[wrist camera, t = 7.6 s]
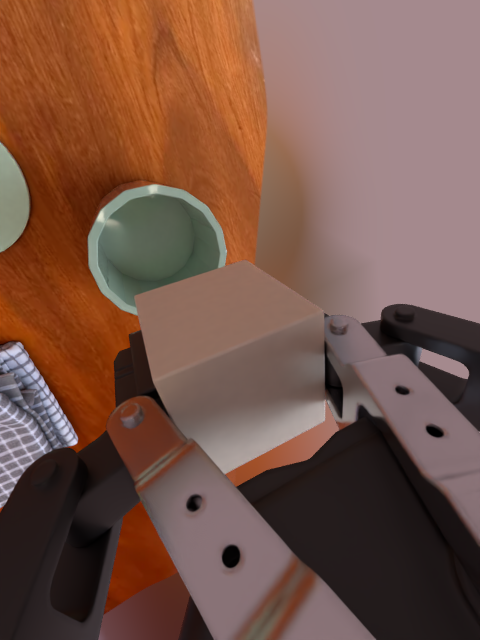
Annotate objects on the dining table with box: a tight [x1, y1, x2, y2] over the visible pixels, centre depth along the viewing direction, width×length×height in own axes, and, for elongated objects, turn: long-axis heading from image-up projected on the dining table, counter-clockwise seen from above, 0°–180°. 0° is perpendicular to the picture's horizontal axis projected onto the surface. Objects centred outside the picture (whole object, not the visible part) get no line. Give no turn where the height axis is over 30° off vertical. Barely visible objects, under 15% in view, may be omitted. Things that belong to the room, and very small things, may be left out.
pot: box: [88, 180, 227, 316], centre depth 24 cm, size 10×10×8 cm
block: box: [134, 260, 325, 474], centre depth 10 cm, size 4×4×5 cm
